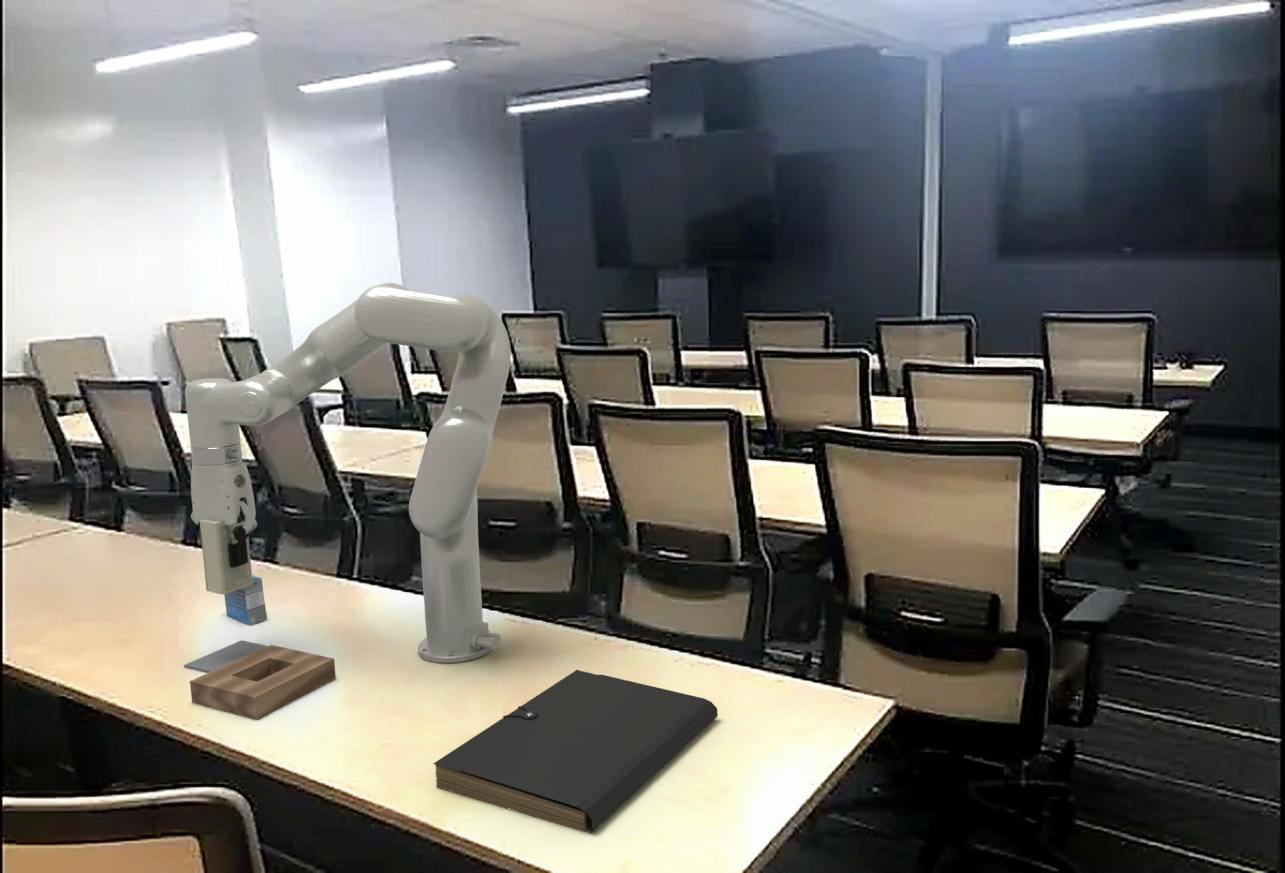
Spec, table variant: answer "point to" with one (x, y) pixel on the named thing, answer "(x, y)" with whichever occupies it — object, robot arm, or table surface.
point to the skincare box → (222, 560)
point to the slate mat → (224, 656)
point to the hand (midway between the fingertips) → (227, 562)
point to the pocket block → (262, 681)
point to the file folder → (576, 748)
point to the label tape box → (247, 603)
